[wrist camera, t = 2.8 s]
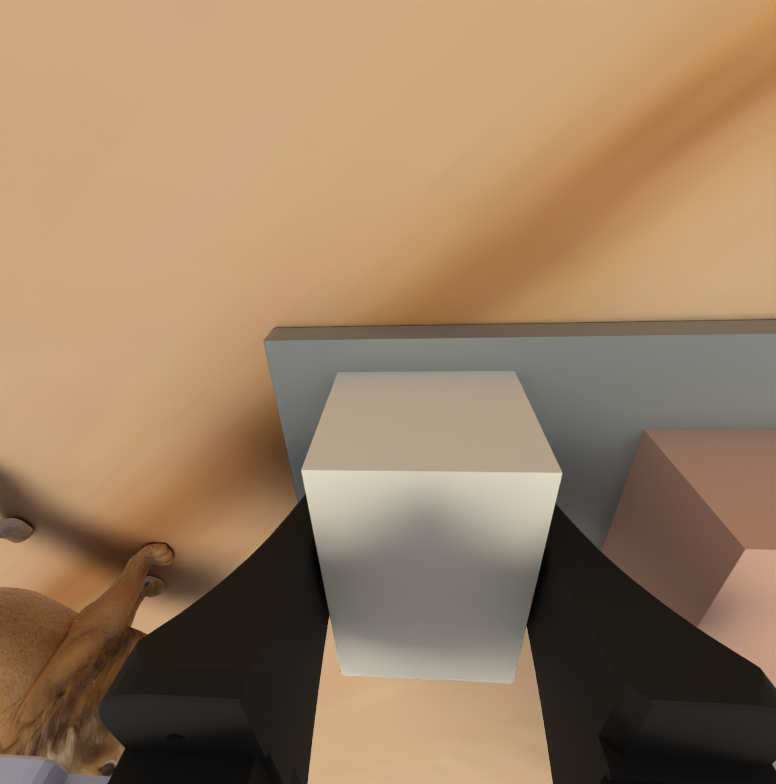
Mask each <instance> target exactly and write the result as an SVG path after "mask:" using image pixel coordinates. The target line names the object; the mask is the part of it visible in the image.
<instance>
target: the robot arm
mask: <svg viewBox="0 0 776 784" xmlns="http://www.w3.org/2000/svg"><path fill="white" fill-rule="evenodd" d="M329 615H330V614H329V609H328V604H327V599H326V594H325V588H324V583H323V578H322V573H321V568H320V563H319V558H318V553H317V548H316V543H315V538H314V533H313V528H312V523H311V518H310V512H309V507H308V502H307V497H306V494H305V495H304V496H303V497H302V499H301V500H300V501H299V503H298V504H297V505H296V506H295V508H294V509H293V510H292V511H291V513H290V514H289V515H288V516H287V517H286V519H285V520H284V521H283V522H282V523H281V524H280V525H279V527H278V528H277V529H276V530H275V531H274V532H273V533H272V535H271V536H270V537H269V538H268V539H267V540H266V541H265V542H264V543H263V544H262V545H261V546H260V547H259V548H258V549H257V550H256V551H255V552H254V553H253V554H252V555H251V556H250V557H249V558H248V559H247V560H246V561H244V562H243V563H242V564H241V565H240V566H239V567H238V568H237V569H236V570H234V571H233V572H232V573H231V574H230V575H229V576H228V577H227V578H225V579H224V580H223V581H222V582H221V583H219V584H218V585H217V586H216V587H214V588H213V589H212V590H210V591H209V592H208V593H207V594H205V595H204V596H203V597H201V598H200V599H199V600H197V601H196V602H195V603H194V604H192V605H191V606H190V607H188V608H187V609H185V610H184V611H183V612H181V613H180V614H178V615H177V616H175V617H174V618H172V619H171V620H169V621H168V622H166V623H165V624H163V625H162V626H160V627H159V628H157V629H156V630H154V631H153V632H151V633H150V634H148V635H146V636H145V637H143V638H142V639H140V640H139V641H138V642H137V644H136V645H135V647H134V648H133V650H132V651H131V653H130V654H129V655H128V657H127V658H126V660H125V662H124V663H123V665H122V667H121V668H120V670H119V672H118V674H117V675H116V677H115V679H114V681H113V682H112V684H111V686H110V687H109V689H108V691H107V693H106V694H105V696H104V698H103V700H102V701H101V703H100V705H99V706H98V711H99V718H100V720H101V721H102V723H103V724H104V726H105V727H106V728H107V729H108V730H109V731H110V732H111V733H112V734H113V736H114V737H115V738H116V739H117V740H118V741H119V742H120V743H121V744H122V746H123V747H124V748H125V749H124V751H123V753H122V755H121V757H120V759H119V761H118V763H117V765H116V767H115V769H114V772H113V774H112V776H111V777H108V776H95V775H81V774H67V771H66V769H65V768H64V767H63V766H62V765H61V764H60V763H58V762H56V761H54V760H51V759H48V758H44V757H36V756H22V755H8V754H0V784H307V782H308V773H309V764H310V755H311V746H312V737H313V729H314V721H315V713H316V705H317V697H318V689H319V682H320V675H321V667H322V660H323V653H324V646H325V640H326V633H327V626H328V620H329ZM527 629H528V634H529V640H530V645H531V650H532V656H533V661H534V667H535V672H536V678H537V684H538V690H539V695H540V701H541V707H542V714H543V720H544V726H545V733H546V739H547V745H548V752H549V759H550V766H551V773H552V780H553V784H776V688H775V686H774V685H773V684H772V682H771V681H770V680H769V679H768V677H767V676H766V675H765V673H764V672H763V671H762V669H761V668H760V667H758V666H757V665H755V664H754V663H752V662H750V661H749V660H747V659H746V658H744V657H742V656H741V655H739V654H738V653H736V652H735V651H733V650H731V649H730V648H728V647H727V646H725V645H723V644H722V643H720V642H719V641H717V640H715V639H714V638H712V637H711V636H709V635H708V634H706V633H705V632H703V631H702V630H700V629H699V628H697V627H696V626H694V625H693V624H692V623H690V622H689V621H687V620H686V619H684V618H683V617H681V616H680V615H679V614H677V613H676V612H674V611H673V610H672V609H670V608H669V607H668V606H666V605H665V604H663V603H662V602H661V601H660V600H658V599H657V598H656V597H654V596H653V595H652V594H651V593H649V592H648V591H647V590H645V589H644V588H643V587H642V586H640V585H639V584H638V583H636V582H635V581H634V580H633V579H632V578H630V577H629V576H628V575H627V574H626V573H624V572H623V571H622V570H621V569H620V568H619V567H618V566H616V565H615V564H614V563H613V562H612V561H611V560H610V559H609V558H608V557H606V556H605V555H604V554H603V553H602V552H601V551H600V550H599V549H598V548H597V547H596V546H595V545H594V544H593V543H592V542H591V541H590V540H589V539H588V538H587V537H586V536H585V535H584V534H583V533H582V532H581V531H580V530H579V529H578V528H577V527H576V525H575V524H574V523H573V522H572V521H571V520H570V519H569V518H568V517H567V516H566V514H565V513H564V512H563V511H562V510H561V509H560V508H559V506H558V505H557V504H556V503H555V507H554V511H553V515H552V519H551V524H550V528H549V532H548V536H547V540H546V545H545V549H544V553H543V557H542V562H541V566H540V570H539V574H538V578H537V583H536V587H535V591H534V595H533V600H532V604H531V608H530V612H529V616H528V621H527Z"/></svg>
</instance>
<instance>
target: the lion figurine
mask: <svg viewBox="0 0 776 784" xmlns="http://www.w3.org/2000/svg"><path fill="white" fill-rule="evenodd" d="M32 533H33V529H32V528H31V527H30V526H29V525H28V524H27V523H25V522H23V521H21V520H19V519H16V518H6V519H1V520H0V538H4V539H8V540H10V541H12V542H14V543H18V542H22V541H24V540H26V539H28V538H29V537H30V536H31V534H32ZM172 561H173V554H172V551H171V550H170V549H169V548H168V546H167V545H166V544H160V543H156V544H150V545H147V546H145V547H143V548H142V549H141V550H140V551H139V552H138V553H137V554H136V555H134V556H132V557H131V558H130V560H129V561H128V563H127V565H126V567H125V569H124V571H123V572H122V574H121V575H120V576H119V578H118V579H117V580H116V582H115V583H114V584H113V585H112V586H111V587H110V588H109V589H108V590H107V591H106V592H105V593H104V594H103V595H102V596H101V597H100V598H98V599H97V600H95V601H94V602H92V603H91V604H89V605H88V606H86V607H85V608H84V609H83V610H82V611H80V613H77V612H75V611H73V610H71V609H70V608H68V607H66V606H64V605H62V604H60V603H59V602H57V601H55V600H53V599H51V598H49V597H47V596H45V595H42V594H40V593H37V592H34V591H30V590H26V589H19V588H10V587H0V754H8V755H22V756H36V757H44V758H48V759H51V760H54V761H56V762H58V763H60V764H61V765H62V766H63V767H64V768H65V769H66V771H67V774H81V775H95V776H108V777H111V776H112V774H113V772H114V769H115V767H116V765H117V763H118V761H119V759H120V757H121V755H122V753H123V751H124V749H125V748H124V747H123V746H122V744H121V743H120V742H119V741H118V740H117V739H116V738H115V737H114V736H113V734H112V733H111V732H110V731H109V730H108V729H107V728H106V727H105V726H104V724H103V723H102V721H101V720H100V718H99V711H98V706H99V705H100V703H101V701H102V700H103V698H104V696H105V694H106V693H107V691H108V689H109V687H110V686H111V684H112V682H113V681H114V679H115V677H116V675H117V674H118V672H119V670H120V668H121V667H122V665H123V663H124V662H125V660H126V658H127V657H128V655H129V654H130V653H131V651H132V650H133V648H134V647H135V645H136V644H137V642H138V641H139V640H140V639H142V638H143V637H145V636H146V635H147V634H145V633H143V632H141V631H139V630H136V629H134V628H131V625H132V622H133V620H134V617H135V614H136V611H137V609H138V607H139V605H140V603H141V602H142V600H143V599H144V597H146V596H148V597H153V596H157V595H160V594H161V593H162V591H163V589H164V586H165V584H164V582H163V581H162V580H161V579H158V578H156V577H153V576H146V575H147V573H148V572H149V570H150V569H151V568H152V567H156V568H162V567H164V566H167V565H169V564H170V563H171V562H172Z"/></svg>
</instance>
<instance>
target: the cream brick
mask: <svg viewBox="0 0 776 784" xmlns="http://www.w3.org/2000/svg"><path fill="white" fill-rule="evenodd" d="M301 472H302V477H303V482H304V487H305V492H306V497H307V502H308V507H309V512H310V518H311V523H312V528H313V533H314V538H315V543H316V548H317V553H318V558H319V563H320V568H321V573H322V578H323V583H324V588H325V594H326V599H327V604H328V609H329V614H330V619H331V624H332V629H333V634H334V639H335V644H336V649H337V654H338V659H339V664H340V669H341V675H349V676H369V677H389V678H409V679H429V680H449V681H469V682H489V683H509V684H513V680H514V676H515V671H516V667H517V663H518V659H519V654H520V650H521V646H522V642H523V638H524V633H525V629H526V625H527V621H528V616H529V612H530V608H531V604H532V600H533V595H534V591H535V587H536V583H537V578H538V574H539V570H540V566H541V562H542V557H543V553H544V549H545V545H546V540H547V536H548V532H549V528H550V524H551V519H552V515H553V511H554V507H555V502H556V498H557V494H558V490H559V486H560V481H561V477H562V471H561V469H560V466H559V464H558V462H557V460H556V458H555V456H554V454H553V452H552V449H551V447H550V445H549V443H548V441H547V439H546V437H545V434H544V432H543V430H542V428H541V426H540V424H539V422H538V420H537V417H536V415H535V413H534V411H533V409H532V407H531V405H530V403H529V400H528V398H527V396H526V394H525V392H524V390H523V388H522V385H521V383H520V381H519V379H518V377H517V375H516V373H515V371H417V372H338V373H337V375H336V378H335V381H334V384H333V386H332V389H331V392H330V394H329V397H328V400H327V402H326V405H325V408H324V410H323V413H322V416H321V418H320V421H319V424H318V426H317V429H316V432H315V434H314V437H313V440H312V442H311V445H310V448H309V450H308V453H307V456H306V458H305V461H304V464H303V466H302V469H301Z"/></svg>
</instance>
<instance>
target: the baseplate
mask: <svg viewBox="0 0 776 784" xmlns="http://www.w3.org/2000/svg"><path fill="white" fill-rule="evenodd" d="M264 346H265V351H266V355H267V360H268V365H269V369H270V374H271V379H272V383H273V388H274V393H275V397H276V402H277V407H278V411H279V416H280V421H281V425H282V430H283V435H284V439H285V444H286V449H287V453H288V458H289V463H290V467H291V472H292V477H293V481H294V486H295V491H296V495H297V500H298V503H299V501H300V500H301V499H302V497H303V496H304V495H305V494H306V492H305V487H304V482H303V477H302V472H301V469H302V466H303V464H304V461H305V458H306V456H307V453H308V450H309V448H310V445H311V442H312V440H313V437H314V434H315V432H316V429H317V426H318V424H319V421H320V418H321V416H322V413H323V410H324V408H325V405H326V402H327V400H328V397H329V394H330V392H331V389H332V386H333V384H334V381H335V378H336V375H337V373H338V372H417V371H515V373H516V375H517V377H518V379H519V381H520V383H521V385H522V388H523V390H524V392H525V394H526V396H527V398H528V400H529V403H530V405H531V407H532V409H533V411H534V413H535V415H536V417H537V420H538V422H539V424H540V426H541V428H542V430H543V432H544V434H545V437H546V439H547V441H548V443H549V445H550V447H551V449H552V452H553V454H554V456H555V458H556V460H557V462H558V464H559V466H560V469H561V471H562V477H561V481H560V486H559V490H558V494H557V498H556V502H555V503H556V504H557V505H558V506H559V508H560V509H561V510H562V511H563V512H564V513H565V514H566V516H567V517H568V518H569V519H570V520H571V521H572V522H573V523H574V524H575V525H576V527H577V528H578V529H579V530H580V531H581V532H582V533H583V534H584V535H585V536H586V537H587V538H588V539H589V540H590V541H591V542H592V543H593V544H594V545H595V546H596V547H597V548H598V549H599V550H600V551H601V552H602V549H603V546H604V543H605V540H606V538H607V535H608V532H609V529H610V526H611V523H612V520H613V517H614V514H615V512H616V509H617V506H618V503H619V500H620V497H621V494H622V491H623V489H624V486H625V483H626V480H627V477H628V474H629V471H630V468H631V466H632V463H633V460H634V457H635V454H636V451H637V448H638V445H639V443H640V440H641V437H642V434H643V431H644V430H776V320H722V321H662V322H602V323H541V324H481V325H421V326H360V327H300V328H274V329H273V330H272V331H271V333H270V334H269V335H268V336H267V337H266V338H265V340H264Z"/></svg>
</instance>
